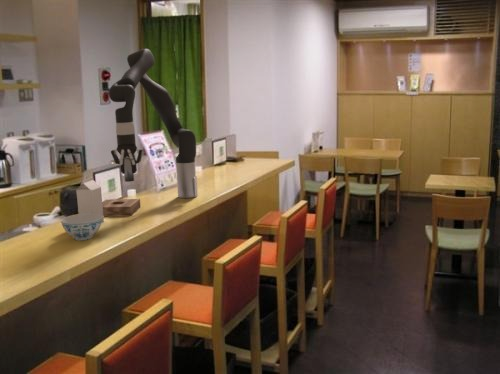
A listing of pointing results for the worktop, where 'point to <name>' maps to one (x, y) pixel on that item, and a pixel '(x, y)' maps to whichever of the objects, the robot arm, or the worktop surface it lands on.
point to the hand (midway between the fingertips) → (128, 173)
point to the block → (120, 207)
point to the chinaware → (82, 225)
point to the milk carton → (90, 198)
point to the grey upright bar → (128, 169)
